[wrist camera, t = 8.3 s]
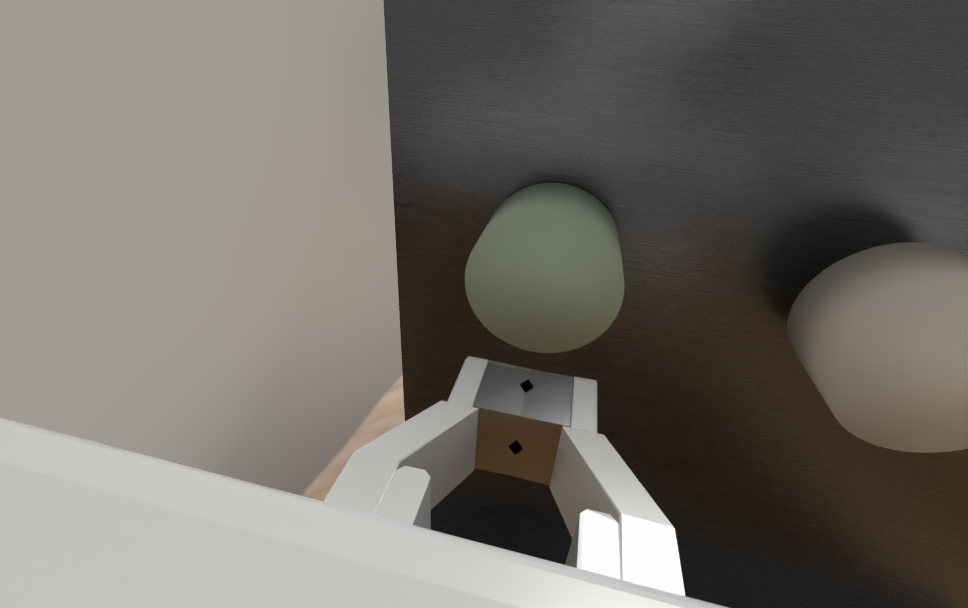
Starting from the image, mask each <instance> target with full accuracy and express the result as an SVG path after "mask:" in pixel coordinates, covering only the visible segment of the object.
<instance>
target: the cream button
mask: <svg viewBox="0 0 968 608" xmlns="http://www.w3.org/2000/svg"><path fill="white" fill-rule="evenodd" d="M787 336H788V340H789V343H790V345H791V347H792V349H793V351H794V353H795V354H796V356H797V357H798V359H799V360H800V362H801V364H802V365H803V367H804V368H805V370H806V372H807V373H808V375H809V376H810V378H811V380H812V381H813V383H814V384H815V386H816V388H817V389H818V391H819V392H820V394H821V396H822V397H823V399H824V400H825V402H826V404H827V405H828V407H829V408H830V410H831V412H832V413H833V415H834V416H835V418H836V419H837V420H838V422H839V423H840V424H841V425H842V426H843V427H844V428H845V429H846V430H847V431H848V432H850V433H851V434H853V435H854V436H856V437H857V438H859V439H862V440H864V441H866V442H868V443H871V444H873V445H876V446H879V447H883V448H887V449H891V450H898V451H904V452H917V453H936V452H949V451H957V450H964V449H968V257H967V256H965V255H964V254H962V253H960V252H958V251H956V250H954V249H951V248H948V247H945V246H942V245H937V244H931V243H921V242H901V243H893V244H886V245H881V246H877V247H873V248H869V249H866V250H863V251H860V252H857V253H855V254H852V255H850V256H848V257H845V258H844V259H842V260H840V261H838V262H836V263H834V264H832V265H831V266H829V267H828V268H826V269H825V270H823V271H822V272H821V273H819V274H818V275H817V276H816V277H814V278H813V279H812V280H811V281H810V282H809V283H808V284H807V285H806V286H805V287H804V289H803V290H802V291H801V292H800V294H799V295H798V296H797V298H796V300H795V301H794V303H793V305H792V307H791V310H790V312H789V316H788V320H787Z"/></svg>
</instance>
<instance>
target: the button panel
mask: <svg viewBox="0 0 968 608" xmlns="http://www.w3.org/2000/svg"><path fill="white" fill-rule="evenodd" d="M384 16H385V36H386V55H387V75H388V94H389V114H390V132H391V133H390V134H391V153H392V173H393V193H394V210H395V211H394V212H395V232H396V251H397V271H398V291H399V310H400V331H401V349H402V370H403V389H404V409H405V421H407V420H409V419H410V418H412V417H414V416H415V415H417V414H419V413H421V412H422V411H424V410H426V409H427V408H429V407H431V406H433V405H434V404H436V403H438V402H439V401H446V402H447V401H448V399H449V396H450V394H451V392H452V389H453V387H454V385H455V382H456V380H457V378H458V376H459V373H460V371H461V369H462V366H463V364H464V362H465V359H466V358H467V357H468V356H472V357H476V358H481V359H486V360H492V361H497V362H501V363H506V364H511V365H515V366H520V367H525V368H529V369H533V370H539V371H544V372H549V373H555V374H560V375H566V376H571V377H580V378H586V379H592V380H596V382H597V433H598V434H603V435H605V437H606V438H607V439H608V441H609V442H610V443H611V445H612V446H613V447H614V449H615V450H616V451H617V453H618V454H619V455H620V457H621V458H622V459H623V460H624V462H625V463H626V464H627V466H628V467H629V468H630V470H631V471H632V472H633V474H634V475H635V476H636V478H637V479H638V480H639V482H640V483H641V484H642V486H643V487H644V488H645V490H646V491H647V492H648V494H649V495H650V496H651V498H652V499H653V500H654V502H655V503H656V504H657V506H658V507H659V508H660V510H661V511H662V512H663V514H664V515H665V516H666V517H667V519H668V520H669V521H670V523H671V524H672V525H673V527H674V528H675V533H676V539H677V546H678V552H679V558H680V565H681V571H682V578H683V584H684V590H685V596H686V597H690V598H694V599H698V600H702V601H706V602H709V603H713V604H717V605H721V606H725V607H728V608H968V449H964V450H957V451H949V452H936V453H917V452H904V451H898V450H891V449H887V448H883V447H879V446H876V445H873V444H871V443H868V442H866V441H864V440H862V439H859V438H857V437H856V436H854V435H853V434H851V433H850V432H848V431H847V430H846V429H845V428H844V427H843V426H842V425H841V424H840V423H839V422H838V420H837V419H836V418H835V416H834V415H833V413H832V412H831V410H830V408H829V407H828V405H827V404H826V402H825V400H824V399H823V397H822V396H821V394H820V392H819V391H818V389H817V388H816V386H815V384H814V383H813V381H812V380H811V378H810V376H809V375H808V373H807V372H806V370H805V368H804V367H803V365H802V364H801V362H800V360H799V359H798V357H797V356H796V354H795V353H794V351H793V349H792V347H791V345H790V343H789V340H788V336H787V320H788V316H789V312H790V310H791V307H792V305H793V303H794V301H795V300H796V298H797V296H798V295H799V294H800V292H801V291H802V290H803V289H804V287H805V286H806V285H807V284H808V283H809V282H810V281H811V280H812V279H813V278H814V277H816V276H817V275H818V274H819V273H821V272H822V271H823V270H825V269H826V268H828V267H829V266H831V265H832V264H834V263H836V262H838V261H840V260H842V259H844V258H845V257H848V256H850V255H852V254H855V253H857V252H860V251H863V250H866V249H869V248H873V247H877V246H881V245H886V244H893V243H901V242H921V243H931V244H937V245H942V246H945V247H948V248H951V249H954V250H956V251H958V252H960V253H962V254H964V255H965V256H967V257H968V0H384ZM541 183H562V184H568V185H572V186H575V187H578V188H580V189H582V190H584V191H586V192H588V193H590V194H591V195H593V196H594V197H596V198H597V199H598V200H599V201H600V202H601V203H602V204H603V205H604V206H605V207H606V208H607V209H608V211H609V212H610V214H611V215H612V217H613V219H614V221H615V223H616V225H617V229H618V232H619V238H620V246H621V256H622V265H623V274H624V297H623V302H622V305H621V308H620V311H619V313H618V315H617V316H616V318H615V320H614V321H613V323H612V324H611V325H610V327H609V328H608V329H607V330H606V331H605V332H604V333H603V334H602V335H600V336H599V337H598V338H596V339H595V340H593V341H592V342H590V343H588V344H586V345H584V346H582V347H579V348H576V349H573V350H570V351H565V352H558V353H539V352H532V351H528V350H523V349H520V348H517V347H515V346H512V345H510V344H508V343H506V342H504V341H503V340H501V339H499V338H498V337H496V336H495V335H494V334H492V333H491V332H490V331H489V330H488V329H487V328H486V327H485V326H484V325H483V324H482V323H481V322H480V320H479V319H478V318H477V316H476V315H475V313H474V312H473V310H472V308H471V305H470V303H469V301H468V297H467V294H466V288H465V270H466V265H467V261H468V258H469V256H470V254H471V251H472V250H473V248H474V246H475V245H476V243H477V241H478V240H479V238H480V236H481V235H482V233H483V231H484V230H485V228H486V226H487V225H488V223H489V221H490V220H491V218H492V216H493V215H494V213H495V211H496V210H497V209H498V207H499V206H500V205H501V204H502V203H503V202H504V201H505V200H506V199H507V198H508V197H510V196H511V195H513V194H514V193H515V192H517V191H519V190H521V189H523V188H526V187H529V186H532V185H536V184H541ZM549 487H550V486H549V485H545V484H541V483H537V482H533V481H530V480H526V479H522V478H518V477H514V476H510V475H505V474H500V473H496V472H491V471H486V470H481V469H476V468H474V471H473V472H472V473H471V474H470V475H469V476H467V477H466V478H465V479H464V480H463V481H462V482H461V483H460V484H459V485H458V486H457V487H455V488H454V489H453V490H452V491H451V492H450V493H449V494H448V495H447V496H446V497H445V498H443V499H442V500H441V501H440V502H439V503H438V504H437V505H436V506H435V507H434V508H433V509H431V530H434V531H437V532H441V533H445V534H449V535H453V536H457V537H460V538H464V539H468V540H472V541H476V542H479V543H483V544H487V545H491V546H495V547H499V548H502V549H506V550H510V551H514V552H518V553H521V554H525V555H529V556H533V557H537V558H540V559H544V560H548V561H552V562H556V563H560V564H563V565H565V563H566V559H567V556H568V552H569V549H570V546H571V542H572V537H571V535H570V533H569V530H568V528H567V526H566V524H565V521H564V519H563V517H562V515H561V513H560V510H559V508H558V506H557V504H556V501H555V499H554V497H553V495H552V492H551V490H550V488H549Z"/></svg>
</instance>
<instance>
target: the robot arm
mask: <svg viewBox="0 0 968 608" xmlns="http://www.w3.org/2000/svg"><path fill="white" fill-rule="evenodd" d="M474 468H476V469H481V470H486V471H491V472H496V473H500V474H505V475H510V476H514V477H518V478H522V479H526V480H530V481H533V482H537V483H541V484H545V485H549V486H550V487H549V488H550V490H551V492H552V495H553V497H554V499H555V501H556V504H557V506H558V508H559V510H560V513H561V515H562V517H563V519H564V521H565V524H566V526H567V528H568V530H569V533H570V535H571V537H572V542H571V546H570V549H569V552H568V556H567V559H566V563H565V565H563V564H560V563H556V562H552V561H548V560H544V559H540V558H537V557H533V556H529V555H525V554H521V553H518V552H514V551H510V550H506V549H502V548H499V547H495V546H491V545H487V544H483V543H479V542H476V541H472V540H468V539H464V538H460V537H457V536H453V535H449V534H445V533H441V532H437V531H434V530H431V509H433V508H434V507H435V506H436V505H437V504H438V503H439V502H440V501H441V500H442V499H443V498H445V497H446V496H447V495H448V494H449V493H450V492H451V491H452V490H453V489H454V488H455V487H457V486H458V485H459V484H460V483H461V482H462V481H463V480H464V479H465V478H466V477H467V476H469V475H470V474H471V473H472V472H473V471H474ZM0 608H728V607H725V606H721V605H717V604H713V603H709V602H706V601H702V600H698V599H694V598H690V597H686V596H685V590H684V584H683V578H682V571H681V565H680V558H679V552H678V546H677V539H676V533H675V528H674V527H673V525H672V524H671V523H670V521H669V520H668V519H667V517H666V516H665V515H664V514H663V512H662V511H661V510H660V508H659V507H658V506H657V504H656V503H655V502H654V500H653V499H652V498H651V496H650V495H649V494H648V492H647V491H646V490H645V488H644V487H643V486H642V484H641V483H640V482H639V480H638V479H637V478H636V476H635V475H634V474H633V472H632V471H631V470H630V468H629V467H628V466H627V464H626V463H625V462H624V460H623V459H622V458H621V457H620V455H619V454H618V453H617V451H616V450H615V449H614V447H613V446H612V445H611V443H610V442H609V441H608V439H607V438H606V437H605V435H603V434H598V433H597V382H596V380H592V379H586V378H580V377H571V376H566V375H560V374H555V373H549V372H544V371H539V370H533V369H529V368H525V367H520V366H515V365H511V364H506V363H501V362H497V361H492V360H486V359H481V358H476V357H472V356H468V357H467V358H466V359H465V362H464V364H463V366H462V369H461V371H460V373H459V376H458V378H457V380H456V382H455V385H454V387H453V389H452V392H451V394H450V396H449V399H448V401H447V402H446V401H439V402H438V403H436V404H434V405H433V406H431V407H429V408H427V409H426V410H424V411H422V412H421V413H419V414H417V415H415V416H414V417H412V418H410V419H409V420H407V421H405V422H403V423H402V424H400V425H398V426H397V427H395V428H393V429H391V430H390V431H388V432H386V433H385V434H383V435H381V436H379V437H378V438H376V439H374V440H373V441H371V442H369V443H367V444H366V445H364V446H362V447H361V448H359V449H357V450H355V451H354V452H353V454H352V456H351V457H350V459H349V460H348V462H347V464H346V465H345V467H344V469H343V470H342V472H341V474H340V475H339V477H338V478H337V480H336V482H335V483H334V485H333V487H332V488H331V490H330V491H329V493H328V495H327V496H326V498H325V500H324V501H319V500H315V499H311V498H307V497H304V496H300V495H296V494H292V493H288V492H284V491H281V490H277V489H273V488H269V487H265V486H261V485H257V484H254V483H250V482H246V481H242V480H238V479H235V478H231V477H227V476H223V475H219V474H216V473H212V472H208V471H204V470H200V469H196V468H193V467H189V466H185V465H181V464H177V463H174V462H170V461H166V460H162V459H158V458H154V457H151V456H146V455H143V454H139V453H135V452H131V451H127V450H123V449H120V448H116V447H112V446H108V445H104V444H100V443H97V442H93V441H89V440H85V439H81V438H77V437H74V436H70V435H66V434H62V433H59V432H55V431H51V430H47V429H43V428H39V427H35V426H32V425H28V424H24V423H20V422H16V421H12V420H9V419H5V418H1V417H0Z"/></svg>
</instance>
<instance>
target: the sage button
mask: <svg viewBox="0 0 968 608" xmlns="http://www.w3.org/2000/svg"><path fill="white" fill-rule="evenodd" d="M465 288H466V294H467V297H468V301H469V303H470V305H471V308H472V310H473V312H474V313H475V315H476V316H477V318H478V319H479V320H480V322H481V323H482V324H483V325H484V326H485V327H486V328H487V329H488V330H489V331H490V332H491V333H492V334H494V335H495V336H496V337H498V338H499V339H501V340H503V341H504V342H506V343H508V344H510V345H512V346H515V347H517V348H520V349H523V350H528V351H532V352H539V353H558V352H565V351H570V350H573V349H576V348H579V347H582V346H584V345H586V344H588V343H590V342H592V341H593V340H595V339H596V338H598V337H599V336H600V335H602V334H603V333H604V332H605V331H606V330H607V329H608V328H609V327H610V325H611V324H612V323H613V321H614V320H615V318H616V316H617V315H618V313H619V311H620V308H621V305H622V302H623V297H624V274H623V265H622V256H621V246H620V238H619V232H618V229H617V225H616V223H615V221H614V219H613V217H612V215H611V214H610V212H609V211H608V209H607V208H606V207H605V206H604V205H603V204H602V203H601V202H600V201H599V200H598V199H597V198H596V197H594V196H593V195H591V194H590V193H588V192H586V191H584V190H582V189H580V188H578V187H575V186H572V185H568V184H562V183H541V184H536V185H532V186H529V187H526V188H523V189H521V190H519V191H517V192H515V193H514V194H513V195H511V196H510V197H508V198H507V199H506V200H505V201H504V202H503V203H502V204H501V205H500V206H499V207H498V209H497V210H496V211H495V213H494V215H493V216H492V218H491V220H490V221H489V223H488V225H487V226H486V228H485V230H484V231H483V233H482V235H481V236H480V238H479V240H478V241H477V243H476V245H475V246H474V248H473V250H472V251H471V254H470V256H469V258H468V261H467V265H466V270H465Z"/></svg>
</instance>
